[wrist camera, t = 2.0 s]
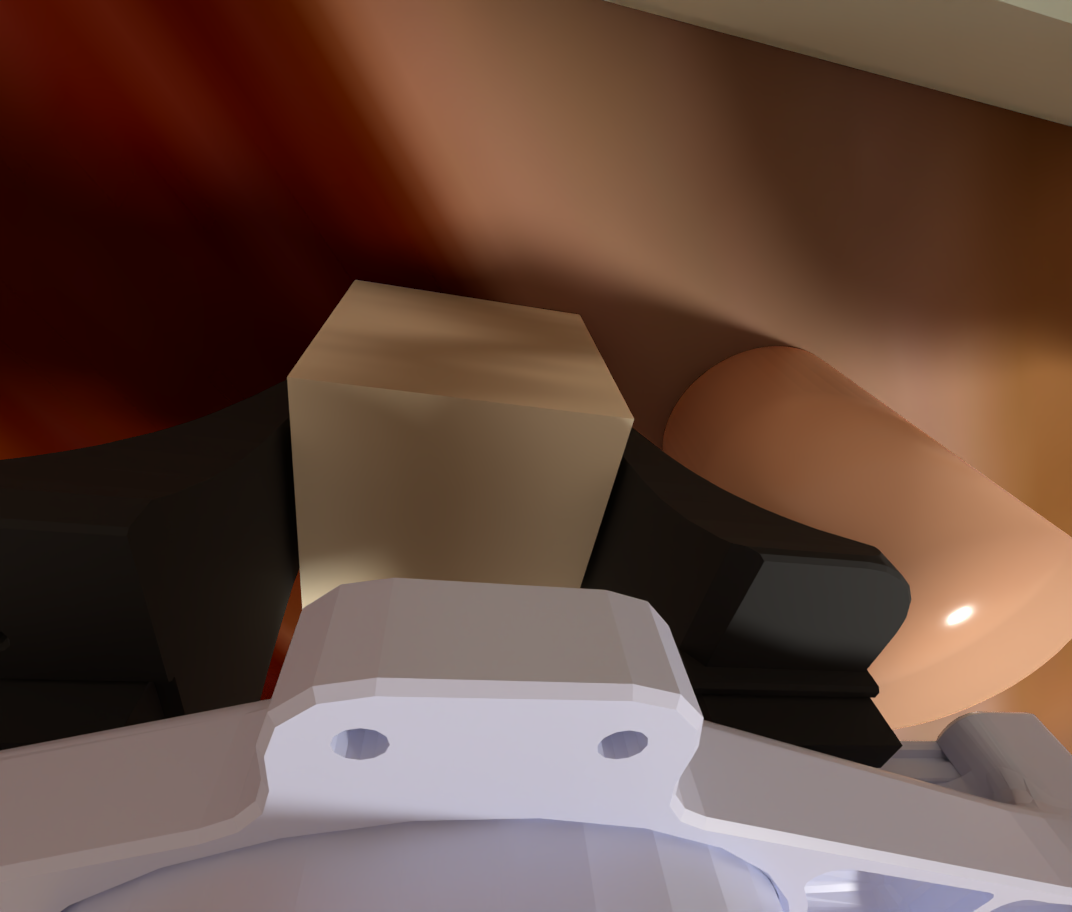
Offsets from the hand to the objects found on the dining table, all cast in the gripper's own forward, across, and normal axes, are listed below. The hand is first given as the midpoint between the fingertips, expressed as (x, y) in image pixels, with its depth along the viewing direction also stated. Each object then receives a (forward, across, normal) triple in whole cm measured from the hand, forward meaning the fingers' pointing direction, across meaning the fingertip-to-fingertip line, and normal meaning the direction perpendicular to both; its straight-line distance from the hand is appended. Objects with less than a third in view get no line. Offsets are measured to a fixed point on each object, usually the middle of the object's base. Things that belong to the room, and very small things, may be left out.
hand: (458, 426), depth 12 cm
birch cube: (+1, 0, 0) cm, 1 cm away
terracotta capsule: (+1, -8, 0) cm, 8 cm away
